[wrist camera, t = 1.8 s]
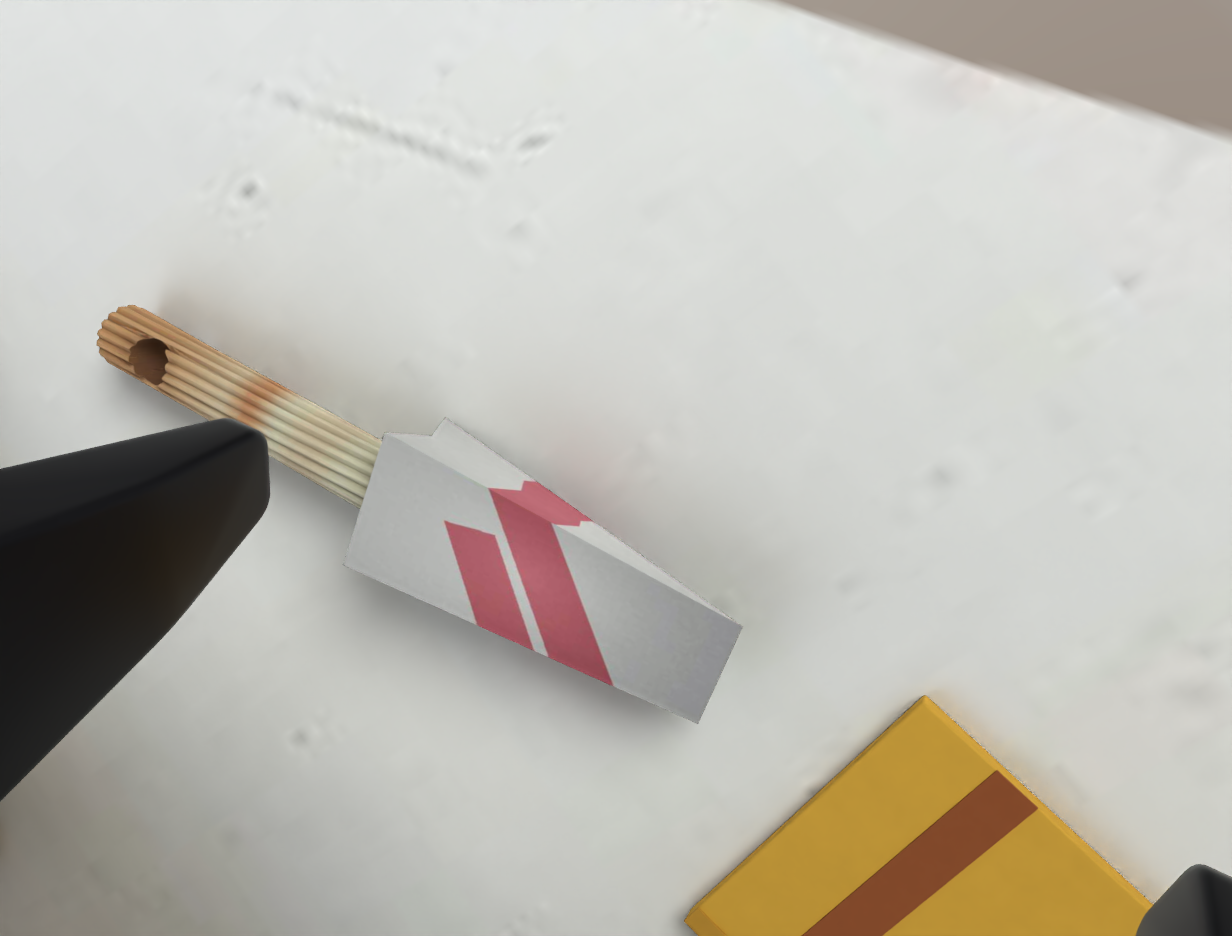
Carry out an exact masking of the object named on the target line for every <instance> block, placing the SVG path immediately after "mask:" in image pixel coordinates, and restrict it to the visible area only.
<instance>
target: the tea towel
mask: <svg viewBox="0 0 1232 936" xmlns="http://www.w3.org/2000/svg"><path fill="white" fill-rule="evenodd" d="M1152 906H1153V904H1152V903H1150V902H1149V901H1148V900H1147V899H1146V898H1145V897H1144V896H1143V895H1142V894H1141V893H1140V892H1139V891H1137V890H1136V889H1135V888H1134V887H1133V886H1132V885H1131V884H1130V883H1129V882H1128V881H1127V880H1125V879H1124V878H1123V877H1122V876H1121V875H1120V874H1119V873H1118V872H1117V871H1116V870H1115V869H1114V868H1112V867H1111V866H1110V865H1109V864H1108V863H1107V862H1106V861H1105V860H1104V859H1103V858H1102V857H1101V856H1099V855H1098V854H1097V853H1096V852H1095V851H1094V850H1093V849H1092V848H1091V847H1090V846H1089V845H1088V844H1086V843H1085V842H1084V841H1083V840H1082V839H1081V838H1080V837H1079V836H1078V835H1077V834H1076V833H1075V832H1073V831H1072V830H1071V829H1070V828H1069V827H1068V826H1067V825H1066V824H1065V823H1064V822H1063V821H1062V820H1060V819H1059V818H1058V817H1057V816H1056V815H1055V814H1054V813H1053V812H1052V811H1051V810H1050V809H1049V808H1047V807H1046V806H1045V805H1044V804H1043V803H1042V802H1041V801H1040V800H1039V799H1038V798H1037V797H1035V796H1034V795H1033V794H1032V793H1031V792H1030V791H1029V790H1028V789H1027V788H1026V787H1025V786H1024V785H1022V784H1021V783H1020V782H1019V781H1018V780H1017V779H1016V778H1015V777H1014V776H1013V775H1012V774H1011V773H1009V772H1008V771H1007V770H1006V769H1005V768H1004V767H1003V766H1002V765H1001V764H1000V763H999V762H998V761H996V760H995V759H994V758H993V757H992V756H991V755H990V754H989V753H988V752H987V751H986V750H985V749H983V748H982V747H981V746H980V745H979V744H978V743H977V742H976V741H975V740H974V739H973V738H972V737H970V736H969V735H968V734H967V733H966V732H965V731H964V730H963V729H962V728H961V727H960V726H959V725H957V724H956V723H955V722H954V721H953V720H952V719H951V718H950V717H949V716H948V715H947V714H945V713H944V712H943V711H942V710H941V709H940V708H939V707H938V706H937V705H936V704H935V703H934V702H932V701H931V700H930V699H929V698H928V697H927V696H923V697H921V698H920V699H919V700H918V701H917V702H916V703H915V704H914V705H913V706H912V707H911V708H909V709H908V710H907V711H906V712H905V713H904V714H903V715H902V716H901V717H900V718H899V719H897V720H896V721H895V722H894V723H893V724H892V725H891V726H890V727H889V728H888V729H887V730H885V731H884V732H883V733H882V734H881V735H880V736H879V737H878V738H877V739H876V740H875V741H873V742H872V743H871V744H870V745H869V746H868V747H867V748H866V749H865V750H864V751H863V752H862V753H860V754H859V755H858V756H857V757H856V758H855V759H854V760H853V761H852V762H851V763H850V764H848V765H847V766H846V767H845V768H844V769H843V770H842V771H841V772H840V773H839V774H838V775H836V776H835V777H834V778H833V779H832V780H831V781H830V782H829V783H828V784H827V785H826V786H824V787H823V788H822V789H821V790H820V791H819V792H818V793H817V794H816V795H815V796H814V797H812V798H811V799H810V800H809V801H808V802H807V803H806V804H805V805H804V806H803V807H802V808H800V809H799V810H798V811H797V812H796V813H795V814H794V815H793V816H792V817H791V818H790V819H789V820H787V821H786V822H785V823H784V824H783V825H782V826H781V827H780V828H779V829H778V830H777V831H775V832H774V833H773V834H772V835H771V836H770V837H769V838H768V839H767V840H766V841H765V842H763V843H762V844H761V845H760V846H759V847H758V848H757V849H756V850H755V851H754V852H753V853H751V854H750V855H749V856H748V857H747V858H746V859H745V860H744V861H743V862H742V863H741V864H739V865H738V866H737V867H736V868H735V869H734V870H733V871H732V872H731V873H730V874H729V875H728V876H726V877H725V878H724V879H723V880H722V881H721V882H720V883H719V884H718V885H717V886H716V887H714V888H713V889H712V890H711V891H710V892H709V893H708V894H707V895H706V896H705V897H704V898H702V899H701V900H700V901H699V902H698V903H697V904H696V905H695V906H694V907H693V908H692V909H691V910H690V912H689V914H688V915H687V917H686V919H685V920H684V922H685V923H686V924H687V925H688V926H689V927H690V928H691V929H692V930H693V931H694V932H695V933H696V934H697V935H698V936H1135V935H1136V932H1137V930H1138V927H1139V925H1140V923H1141V920H1142V919H1143V917H1144V916H1145V914H1146V913H1147V912H1148V910H1149V909H1150V908H1151V907H1152Z"/></svg>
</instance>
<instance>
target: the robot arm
mask: <svg viewBox="0 0 1232 936" xmlns="http://www.w3.org/2000/svg"><path fill="white" fill-rule="evenodd" d="M269 498H270V479H269V459H268V444H267V440H266V438H265V436H264V434H263V433H261V432H260V431H259V430H257V429H254V428H252V427H250V426H248V425H246V424H244V423H241V422H239V421H237V420H235V419H231V418H221V419H216V420H211V421H207V422H203V423H198V424H194V425H190V426H185V427H181V428H177V429H172V430H168V431H164V432H159V433H155V434H151V435H146V436H142V437H137V438H133V439H129V440H124V441H120V442H116V443H111V444H107V445H103V446H98V447H94V448H90V449H85V450H81V451H77V452H72V453H68V454H64V455H59V456H55V457H50V458H46V459H42V460H37V461H33V462H29V463H24V464H20V465H16V466H11V467H7V468H3V469H0V801H1V800H2V799H3V798H4V797H5V796H6V795H7V794H8V793H9V792H10V791H11V790H12V789H13V788H14V787H15V786H16V785H17V784H18V783H19V782H20V781H21V780H22V779H23V778H24V777H25V776H26V775H27V774H28V773H29V772H30V771H31V770H32V769H33V768H34V767H35V766H36V765H37V764H38V763H39V762H40V761H41V760H42V759H43V758H44V757H45V756H46V755H47V754H48V753H49V752H50V751H51V750H52V749H53V748H54V747H55V746H56V745H57V744H58V743H59V742H60V741H61V740H62V739H63V738H64V737H65V736H66V735H67V734H68V733H69V732H70V731H71V730H72V729H73V728H74V727H75V726H76V725H77V724H78V723H79V722H80V721H81V720H82V719H83V718H84V717H85V716H86V715H87V714H88V713H89V712H90V711H91V710H92V709H93V708H94V707H95V706H96V705H97V704H98V703H99V702H100V701H101V700H102V699H103V698H104V697H105V696H106V694H107V693H108V692H109V691H110V690H111V689H112V688H113V687H114V686H115V685H116V684H117V683H118V682H119V681H120V680H121V679H122V678H123V677H124V676H125V675H126V674H127V673H128V672H129V671H130V670H131V669H132V668H133V667H134V666H135V665H136V664H137V663H138V662H139V661H140V660H141V659H142V658H143V657H144V656H145V655H146V654H147V653H148V652H149V651H150V650H151V649H152V648H153V647H154V646H155V645H156V644H157V643H158V642H159V641H160V640H161V639H162V638H163V637H164V636H165V634H166V633H167V632H168V631H169V630H170V629H171V628H172V627H173V626H174V625H175V624H176V622H177V621H178V620H179V619H180V618H181V617H182V615H183V614H184V613H185V612H186V611H187V610H188V608H189V607H190V606H191V605H192V603H193V602H194V601H195V600H196V598H197V597H198V596H199V595H200V593H201V592H202V591H203V590H204V588H205V587H206V586H207V585H208V583H209V582H210V581H211V580H212V578H213V577H214V576H215V575H216V573H217V572H218V571H219V570H220V568H221V567H222V566H223V565H224V563H225V562H226V561H227V560H228V558H229V557H230V556H231V555H232V554H233V552H234V551H235V550H236V549H237V547H238V546H239V545H240V544H241V542H242V541H243V540H244V539H245V537H246V536H247V535H248V534H249V532H250V531H251V530H252V529H253V527H254V526H255V525H256V524H257V522H258V521H259V520H260V518H261V517H262V516H263V514H264V512H265V510H266V508H267V505H268V502H269ZM1135 936H1232V877H1230V876H1228V875H1226V874H1224V873H1222V872H1219V871H1217V870H1215V869H1213V868H1211V867H1209V866H1206V865H1202V864H1197V865H1194V866H1191V867H1190V868H1188V869H1187V870H1186V871H1185V872H1184V873H1183V874H1182V875H1181V876H1180V877H1179V878H1178V879H1177V880H1176V881H1175V882H1174V884H1173V885H1172V886H1171V887H1170V888H1169V889H1168V890H1167V891H1166V892H1165V893H1164V894H1163V895H1162V896H1161V897H1160V899H1159V900H1158V901H1157V902H1156V903H1155V904H1154V905H1153V906H1152V907H1151V908H1150V909H1149V910H1148V912H1147V913H1146V914H1145V916H1144V917H1143V919H1142V920H1141V923H1140V925H1139V927H1138V930H1137V932H1136V935H1135Z"/></svg>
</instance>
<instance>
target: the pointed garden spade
mask: <svg viewBox="0 0 1232 936" xmlns="http://www.w3.org/2000/svg"><path fill="white" fill-rule="evenodd" d="M101 324H102V329H100V330H99V331H98V333H97V334H98V336H99V339H98V340H97V346H99V347H100V350H99V353H100V355H101V356H103V357H104V358H105V359H106V361H107V362H108V363H110V364H112V365H113V366H115V367H117V368H119V369H120V370H122V371H124V372H126V373H127V374H129V375H131V376H133V377H134V378H136V379H138V380H140V381H141V382H143V383H145V384H147V385H148V386H150V387H152V388H154V389H155V390H157V391H159V392H161V393H162V394H164V395H166V396H168V397H169V398H171V399H173V400H175V401H176V402H178V403H180V404H182V405H183V406H185V407H187V408H188V409H190V410H192V411H194V412H195V413H197V414H199V415H201V416H202V417H204V418H206V419H208V420H209V421H211V420H216V419H221V418H231V419H235V420H237V421H239V422H241V423H244V424H246V425H248V426H250V427H252V428H254V429H257V430H259V431H260V432H261V433H263V434H264V436H265V438H266V440H267V444H268V455H269V456H271V457H273V458H274V459H276V460H278V461H279V462H281V463H283V464H284V465H286V466H288V467H289V468H291V469H293V470H295V471H296V472H298V473H300V474H301V475H303V476H305V477H306V478H308V479H310V480H311V481H313V482H315V483H316V484H318V485H320V486H322V487H323V488H325V489H327V490H328V491H330V492H332V493H333V494H335V495H337V496H339V497H340V498H342V499H344V500H345V501H347V502H349V503H351V504H352V505H354V506H356V507H357V508H359V509H360V512H359V515H358V518H357V521H356V524H355V528H354V531H353V534H352V537H351V540H350V543H349V546H348V550H347V553H346V556H345V559H344V562H343V565H344V566H346V567H348V568H350V569H353V570H355V571H357V572H359V573H361V574H364V575H366V576H368V577H370V578H373V579H375V580H377V581H379V582H382V583H384V584H386V585H388V586H391V587H393V588H395V589H397V590H399V591H402V592H404V593H406V594H408V595H411V596H413V597H415V598H417V599H420V600H422V601H424V602H426V603H428V604H431V605H433V606H435V607H437V608H440V609H442V610H444V611H446V612H449V613H451V614H453V615H455V616H458V617H460V618H462V619H464V620H466V621H469V622H471V623H473V624H475V625H478V626H480V627H482V628H484V629H487V630H489V631H491V632H493V633H495V634H498V635H500V636H502V637H504V638H507V639H509V640H511V641H513V642H516V643H518V644H520V645H522V646H524V647H527V648H529V649H531V650H533V651H536V652H538V653H540V654H542V655H545V656H547V657H549V658H551V659H554V660H556V661H558V662H560V663H562V664H565V665H567V666H569V667H571V668H574V669H576V670H578V671H580V672H583V673H585V674H587V675H589V676H591V677H594V678H596V679H598V680H600V681H603V682H605V683H607V684H609V685H612V686H614V687H616V688H618V689H621V690H623V691H625V692H627V693H629V694H632V695H634V696H636V697H638V698H641V699H643V700H645V701H647V702H650V703H652V704H654V705H656V706H658V707H661V708H663V709H665V710H667V711H670V712H672V713H674V714H676V715H679V716H681V717H683V718H685V719H688V720H690V721H692V722H694V723H696V724H698V723H699V721H700V719H701V716H702V714H703V712H704V710H705V708H706V705H707V703H708V701H709V699H710V697H711V695H712V692H713V690H714V688H715V686H716V684H717V682H718V679H719V677H720V675H721V673H722V671H723V668H724V666H725V664H726V662H727V660H728V658H729V655H730V653H731V651H732V649H733V647H734V644H735V642H736V640H737V638H738V636H739V634H740V631H741V629H742V627H743V626H741V625H740V624H738V623H737V622H736V621H734V620H733V619H731V618H730V617H728V616H727V615H726V614H724V613H723V612H721V611H720V610H718V609H717V608H716V607H714V606H713V605H711V604H710V603H709V602H707V601H706V600H704V599H703V598H701V597H700V596H699V595H697V594H696V593H694V592H693V591H691V590H690V589H689V588H687V587H686V586H684V585H683V584H682V583H680V582H679V581H677V580H676V579H674V578H673V577H672V576H670V575H669V574H667V573H666V572H664V571H663V570H662V569H660V568H659V567H657V566H656V565H655V564H653V563H652V562H650V561H649V560H647V559H646V558H645V557H643V556H642V555H640V554H639V553H637V552H636V551H635V550H633V549H632V548H630V547H629V546H627V545H626V544H625V543H623V542H622V541H620V540H619V539H618V538H616V537H615V536H613V535H612V534H610V533H609V532H608V531H606V530H605V529H603V528H602V527H600V526H599V525H598V524H596V523H595V522H593V521H592V520H591V519H589V518H588V517H586V516H585V515H583V514H582V513H581V512H579V511H578V510H576V509H575V508H573V507H572V506H571V505H569V504H568V503H566V502H565V501H564V500H562V499H561V498H559V497H558V496H556V495H555V494H554V493H552V492H551V491H549V490H548V489H546V488H545V487H544V486H542V485H541V484H539V483H538V482H537V481H535V480H534V479H532V478H531V477H529V476H528V475H527V474H525V473H524V472H522V471H521V470H519V469H518V468H517V467H515V466H514V465H512V464H511V463H510V462H508V461H507V460H505V459H504V458H502V457H501V456H500V455H498V454H497V453H495V452H494V451H492V450H491V449H490V448H488V447H487V446H485V445H484V444H483V443H481V442H480V441H478V440H477V439H475V438H474V437H473V436H471V435H470V434H468V433H467V432H465V431H464V430H463V429H461V428H460V427H458V426H457V425H456V424H454V423H453V422H451V421H450V420H448V419H447V418H446V417H445V419H444V420H443V421H442V423H441V424H440V425H439V427H438V428H437V429H436V431H435V432H434V433H433V435H432V436H428V435H415V434H402V433H389V432H385V433H384V436H383V440H382V441H381V440H379V439H378V438H376V437H374V436H372V435H370V434H369V433H367V432H365V431H363V430H361V429H360V428H358V427H356V426H354V425H352V424H350V423H349V422H347V421H345V420H343V419H341V418H340V417H338V416H336V415H334V414H332V413H331V412H329V411H327V410H325V409H323V408H322V407H320V406H318V405H316V404H314V403H313V402H311V401H309V400H307V399H305V398H303V397H302V396H300V395H298V394H296V393H294V392H292V391H291V390H289V389H287V388H285V387H283V386H281V385H280V384H278V383H276V382H274V381H272V380H270V379H269V378H267V377H265V376H263V375H261V374H260V373H258V372H256V371H254V370H252V369H250V368H249V367H247V366H245V365H243V364H241V363H239V362H238V361H236V360H234V359H232V358H230V357H228V356H227V355H225V354H223V353H221V352H219V351H217V350H216V349H214V348H212V347H210V346H208V345H207V344H205V343H203V342H201V341H200V340H198V339H196V338H194V337H193V336H191V335H189V334H187V333H186V332H184V331H182V330H180V329H179V328H177V327H175V326H173V325H172V324H170V323H168V322H166V321H164V320H163V319H161V318H159V317H157V316H156V315H154V314H152V313H150V312H149V311H147V310H145V309H143V308H139V307H137V306H135V305H128V306H127V307H118V309H117V311H116V312H112V313H110V314H109V316H108V319H107V320H104V321H103V322H102V323H101Z"/></svg>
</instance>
